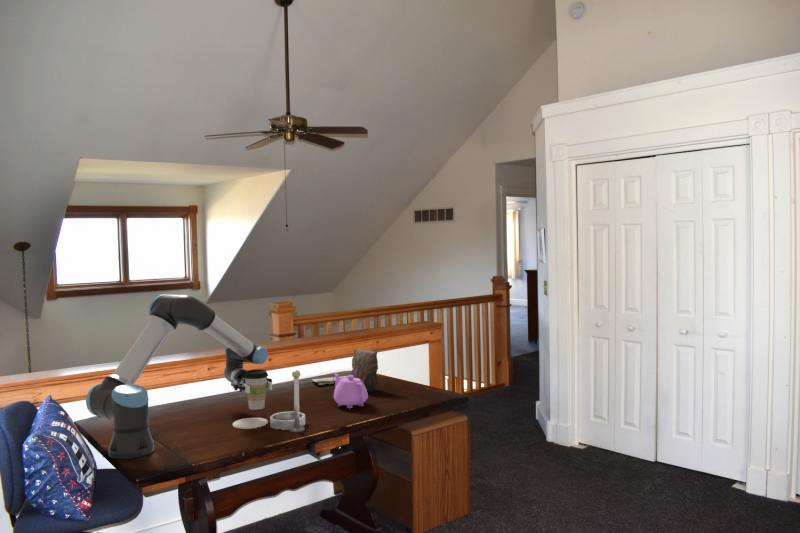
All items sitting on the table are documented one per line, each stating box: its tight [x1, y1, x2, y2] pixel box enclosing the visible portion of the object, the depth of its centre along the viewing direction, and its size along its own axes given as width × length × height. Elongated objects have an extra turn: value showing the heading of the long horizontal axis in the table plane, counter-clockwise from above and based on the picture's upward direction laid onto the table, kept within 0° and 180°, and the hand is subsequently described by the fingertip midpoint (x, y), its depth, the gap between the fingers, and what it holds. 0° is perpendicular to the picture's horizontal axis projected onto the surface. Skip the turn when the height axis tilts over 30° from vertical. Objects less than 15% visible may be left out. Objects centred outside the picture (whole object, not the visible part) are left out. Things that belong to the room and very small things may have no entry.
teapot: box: [333, 372, 369, 410], centre depth 282 cm, size 22×16×14 cm
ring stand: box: [269, 369, 306, 434], centre depth 249 cm, size 19×14×24 cm
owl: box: [350, 349, 379, 392], centre depth 311 cm, size 13×13×20 cm
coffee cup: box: [244, 368, 269, 411], centre depth 254 cm, size 10×10×15 cm
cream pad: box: [232, 417, 269, 430], centre depth 254 cm, size 14×14×1 cm
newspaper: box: [310, 375, 348, 386], centre depth 331 cm, size 35×12×4 cm, turn 120°
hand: (260, 388), depth 250 cm, fingers closed on coffee cup, 9 cm apart
